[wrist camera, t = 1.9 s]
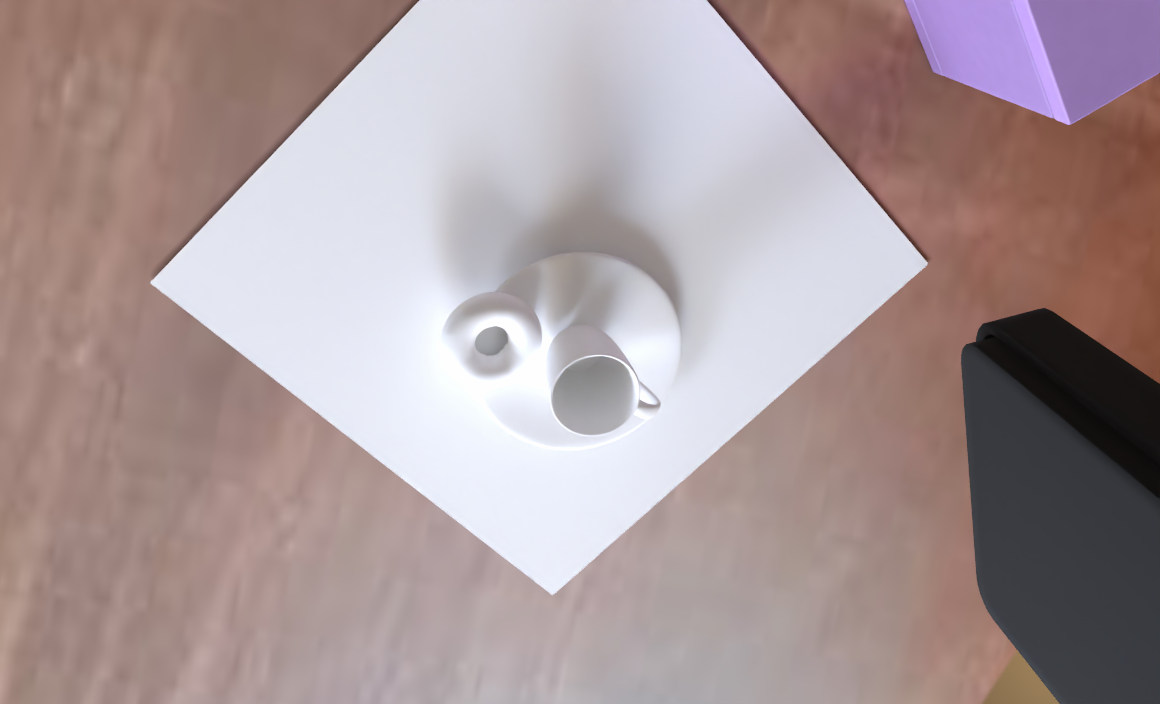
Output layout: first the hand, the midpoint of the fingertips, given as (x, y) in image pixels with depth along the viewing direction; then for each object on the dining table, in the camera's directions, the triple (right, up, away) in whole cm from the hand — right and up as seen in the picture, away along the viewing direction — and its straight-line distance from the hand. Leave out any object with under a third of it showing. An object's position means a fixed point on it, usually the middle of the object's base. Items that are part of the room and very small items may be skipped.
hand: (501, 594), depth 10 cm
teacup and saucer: (0, +5, +30) cm, 30 cm away
